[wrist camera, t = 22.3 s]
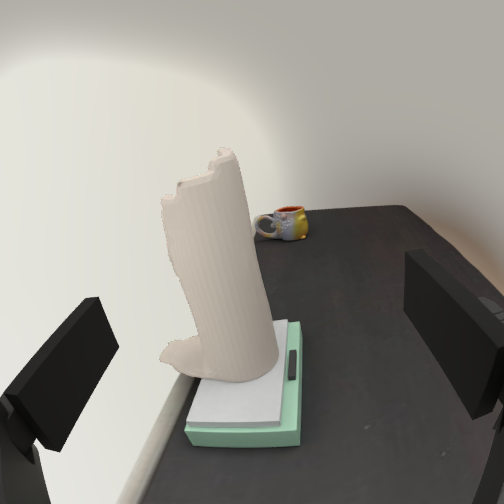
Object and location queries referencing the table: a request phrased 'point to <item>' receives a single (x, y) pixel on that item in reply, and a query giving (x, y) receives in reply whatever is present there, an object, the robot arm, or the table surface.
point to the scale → (253, 402)
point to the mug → (286, 224)
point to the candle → (218, 277)
